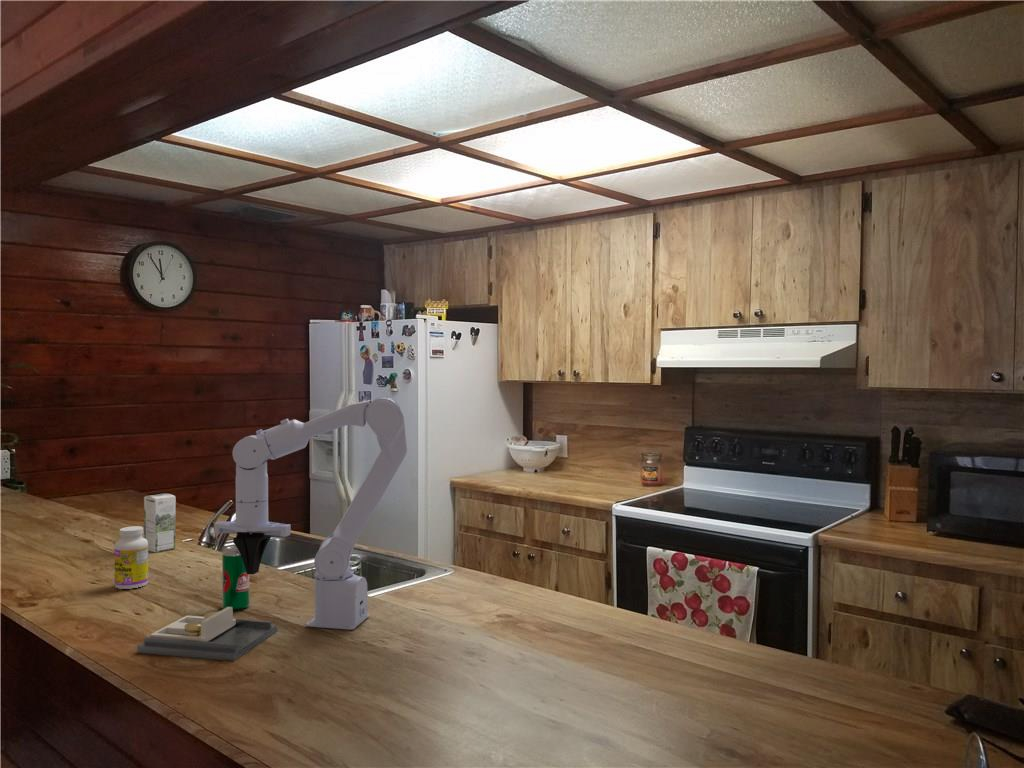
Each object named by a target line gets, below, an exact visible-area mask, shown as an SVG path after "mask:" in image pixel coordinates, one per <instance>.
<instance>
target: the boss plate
mask: <svg viewBox="0 0 1024 768" xmlns="http://www.w3.org/2000/svg"><path fill="white" fill-rule="evenodd" d="M217 612H219V610H218V611H217V610H216V611H210V612H207V613H205V614H204V615H203V616H202V615H200V617H204V619H206V618H208V617H210V616H212V615H214V614H215V613H217ZM186 616H190V614H189V615H186ZM235 619H236V625H234V626H233V627H231V628H229V629H228V630H226V631H224V632H223V633H221V634H219V635H218V636H216V637H214V638H213V639H211V640H209V641H195V640H183V639H170V638H157V637H150V636H145V637H144V638H143V642H142V643H139V644H138V645H137V646H136V652H137V654H145V655H157V656H158V655H159V656H167V657H168V656H170V657H180V658H181V657H183V658H193V659H194V658H195V659H207V660H216V661H217V660H218V661H227V660H229V661H230V662H235V661H236V660H238V659H239V658H241V657H242V656H244V655H245V654H246V653H248V652H249V651H251V650H252V649H255V647H257V646H258V645H260V644H261V643H262V642H265V640H267V639H268V638H270V637H272V636H273V635H274V634H276V633H277V632H278V625H277V624H272V621H271V620H257V619H243V618H241V619H239V618H235ZM185 631H186V632H188V633H189V635H187V636H200V635H201V622H191V623H188V624H186V625H185ZM166 634H171V633H166ZM174 635H184V634H174ZM240 656H241V657H240ZM237 658H238V659H237ZM234 660H235V661H234Z"/></svg>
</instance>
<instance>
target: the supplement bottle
mask: <svg viewBox="0 0 1024 768" xmlns="http://www.w3.org/2000/svg"><path fill="white" fill-rule="evenodd" d="M143 535H144V527H143V526H140V525H138V526H137V525H136V526H127V527H122V528H120V529H119V537H120V539H119V540H117V541H116V542H115V544H114V587H115V589H117V588H118V589H117V590H122V589H130V590H132V589H131V588H137V589H139V588H138V587H141V588H142V586H143V587H145V586H147V584H148V583H149V551H148V541H147V540H146V539H145V538H144V537H143Z"/></svg>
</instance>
